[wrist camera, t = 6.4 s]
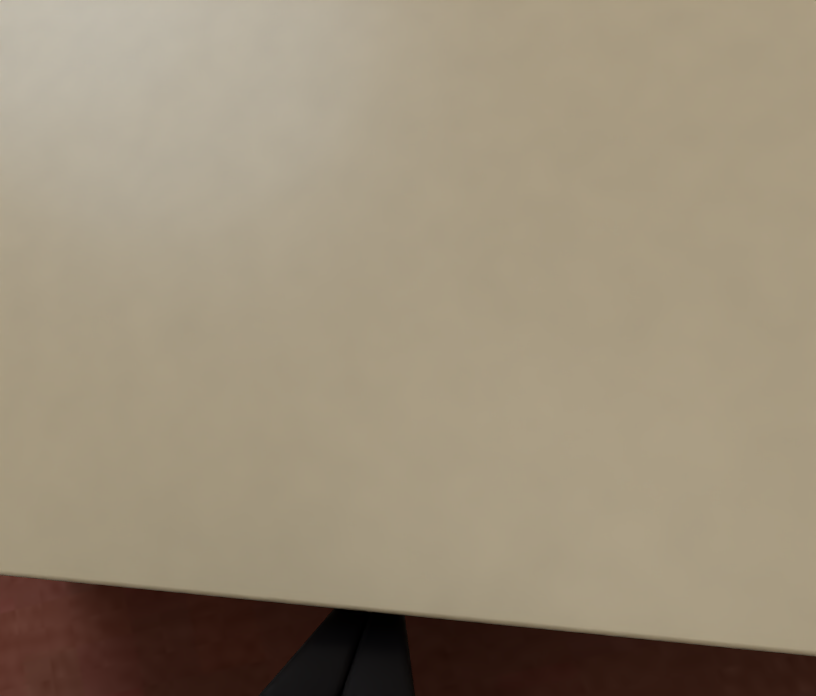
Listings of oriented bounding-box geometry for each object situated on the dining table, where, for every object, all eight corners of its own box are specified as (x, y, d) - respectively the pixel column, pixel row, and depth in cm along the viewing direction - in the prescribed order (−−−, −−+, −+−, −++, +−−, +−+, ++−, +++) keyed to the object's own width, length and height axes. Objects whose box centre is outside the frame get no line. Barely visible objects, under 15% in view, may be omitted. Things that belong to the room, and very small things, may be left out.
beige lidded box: (938, 624, 13) (1455, 720, 6) (57, 546, 17) (-312, 543, 10) (853, -26, 18) (1086, -444, 10) (166, 25, 22) (-29, -254, 14)
